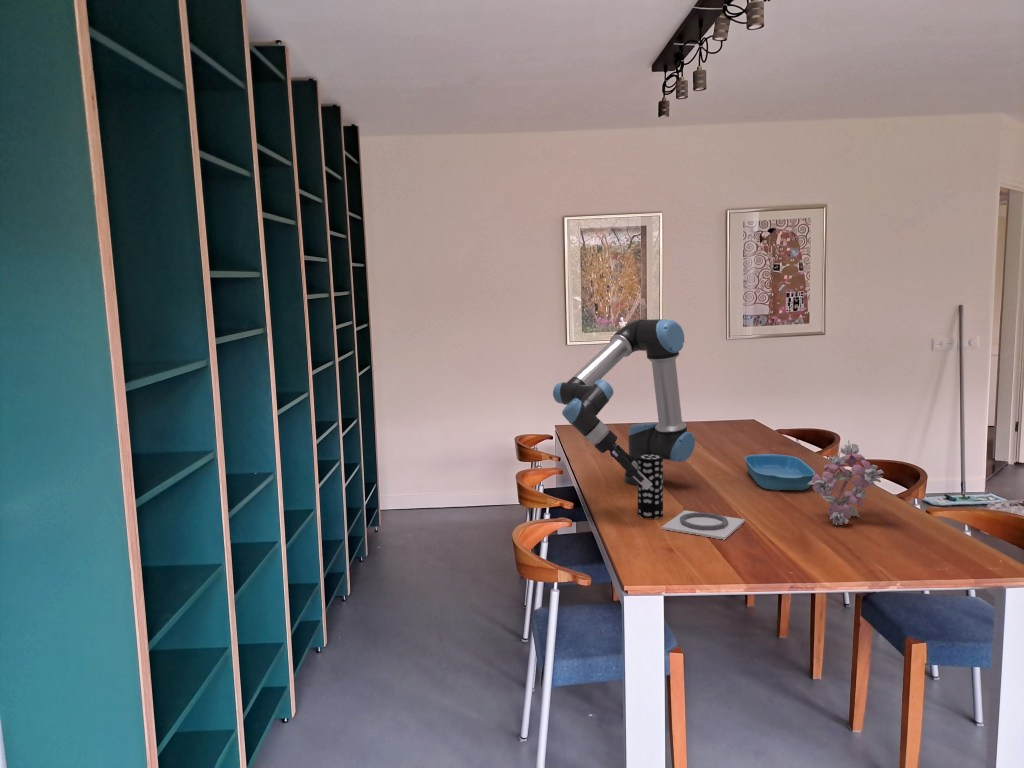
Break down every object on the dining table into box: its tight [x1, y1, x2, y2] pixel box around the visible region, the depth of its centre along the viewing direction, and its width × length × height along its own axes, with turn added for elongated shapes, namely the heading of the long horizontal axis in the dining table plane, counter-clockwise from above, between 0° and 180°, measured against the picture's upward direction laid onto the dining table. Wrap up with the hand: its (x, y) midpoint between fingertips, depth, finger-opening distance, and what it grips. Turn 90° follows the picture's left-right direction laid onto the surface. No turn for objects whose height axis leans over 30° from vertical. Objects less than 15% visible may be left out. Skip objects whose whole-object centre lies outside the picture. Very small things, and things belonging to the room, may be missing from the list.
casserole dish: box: [744, 453, 817, 491], centre depth 281 cm, size 37×22×7 cm, turn 173°
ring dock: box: [661, 509, 746, 541], centre depth 230 cm, size 20×20×2 cm
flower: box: [807, 440, 885, 526], centre depth 233 cm, size 20×22×25 cm
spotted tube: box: [637, 454, 664, 520], centre depth 241 cm, size 8×8×20 cm
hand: (647, 481), depth 240 cm, fingers open, 13 cm apart
